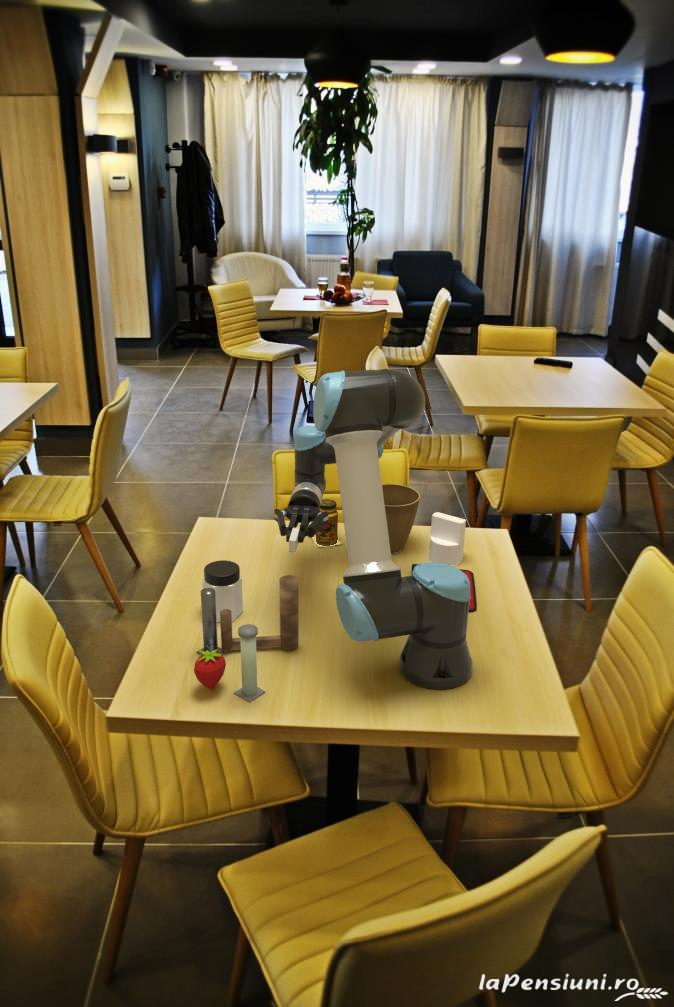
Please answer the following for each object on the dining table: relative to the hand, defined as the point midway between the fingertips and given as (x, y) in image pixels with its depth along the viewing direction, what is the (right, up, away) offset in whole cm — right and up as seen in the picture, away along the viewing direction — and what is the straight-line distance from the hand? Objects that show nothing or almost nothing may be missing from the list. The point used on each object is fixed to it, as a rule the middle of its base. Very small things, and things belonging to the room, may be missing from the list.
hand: (292, 546), depth 182 cm
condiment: (+7, -1, +53) cm, 54 cm away
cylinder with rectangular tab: (+39, -6, +44) cm, 59 cm away
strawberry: (-16, -28, -11) cm, 34 cm away
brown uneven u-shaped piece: (-7, -22, +2) cm, 23 cm away
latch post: (-8, -29, -12) cm, 32 cm away
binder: (+36, -13, +29) cm, 48 cm away
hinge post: (-18, -23, +1) cm, 29 cm away
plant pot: (+24, -3, +50) cm, 55 cm away
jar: (-17, -17, +16) cm, 29 cm away
